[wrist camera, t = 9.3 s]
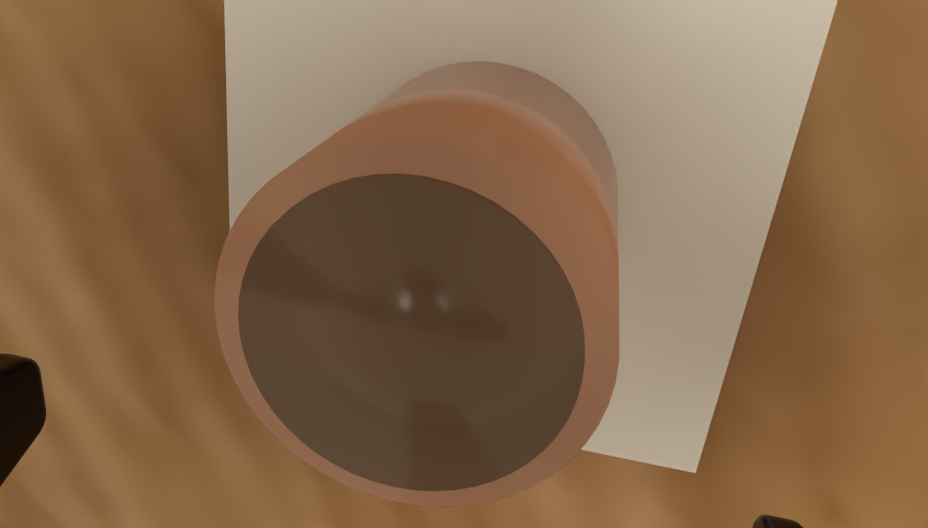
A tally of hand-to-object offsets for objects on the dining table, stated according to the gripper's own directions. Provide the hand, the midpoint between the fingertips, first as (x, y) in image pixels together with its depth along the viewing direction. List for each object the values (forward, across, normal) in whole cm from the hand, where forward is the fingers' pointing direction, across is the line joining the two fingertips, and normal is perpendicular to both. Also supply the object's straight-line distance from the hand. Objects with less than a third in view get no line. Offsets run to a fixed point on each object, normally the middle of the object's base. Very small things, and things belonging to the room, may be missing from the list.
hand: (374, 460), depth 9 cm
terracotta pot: (+10, 0, 0) cm, 10 cm away
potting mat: (+10, 0, 0) cm, 10 cm away
